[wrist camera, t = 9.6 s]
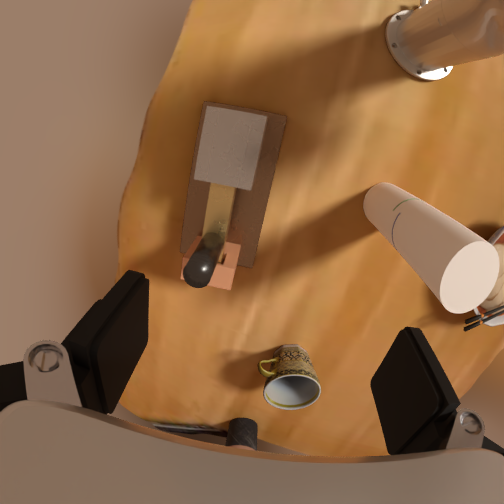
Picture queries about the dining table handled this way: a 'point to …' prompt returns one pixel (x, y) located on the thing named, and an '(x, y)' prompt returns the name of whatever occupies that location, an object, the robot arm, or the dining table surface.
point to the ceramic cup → (290, 379)
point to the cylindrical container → (435, 247)
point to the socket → (222, 271)
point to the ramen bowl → (500, 298)
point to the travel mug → (242, 434)
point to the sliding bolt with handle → (211, 236)
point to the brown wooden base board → (233, 171)
